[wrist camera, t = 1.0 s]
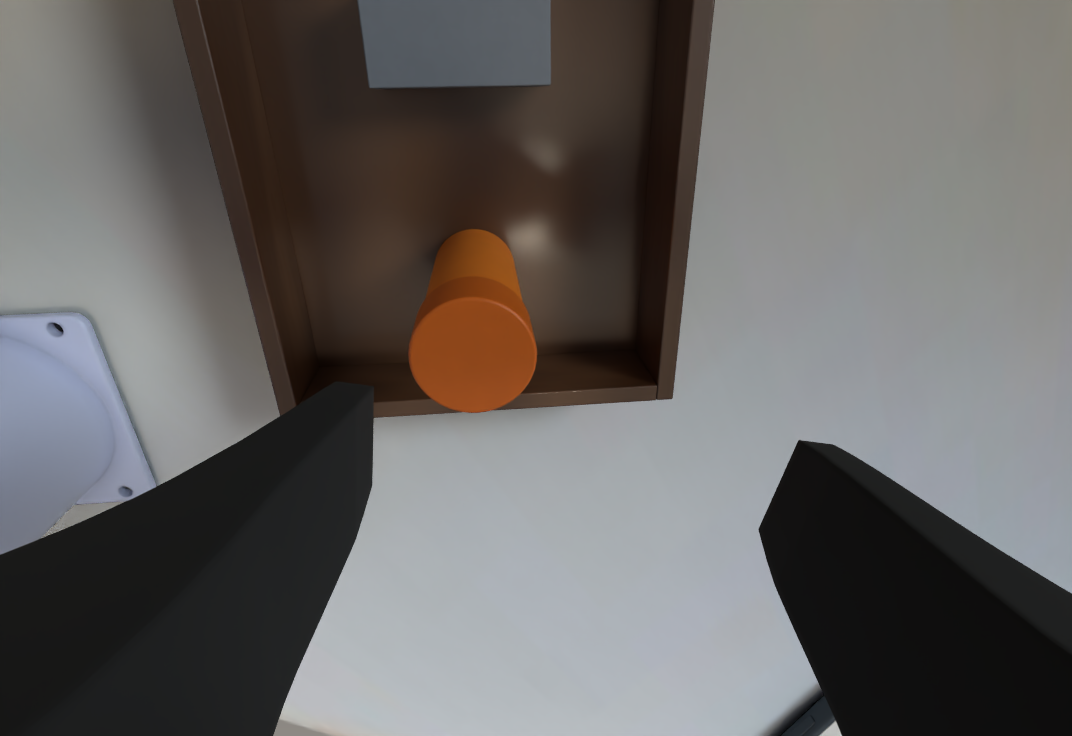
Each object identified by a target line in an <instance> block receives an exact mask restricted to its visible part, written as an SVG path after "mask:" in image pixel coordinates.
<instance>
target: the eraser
mask: <svg viewBox="0 0 1072 736" xmlns="http://www.w3.org/2000/svg"><path fill="white" fill-rule="evenodd" d="M357 4H358V11H359V18H360V26H361V33H362V41H363V48H364V56H365V63H366V70H367V78H368V85H369V88H370V89H423V88H478V87H534V86H549V85H550V84H551V12H550V0H357Z"/></svg>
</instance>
